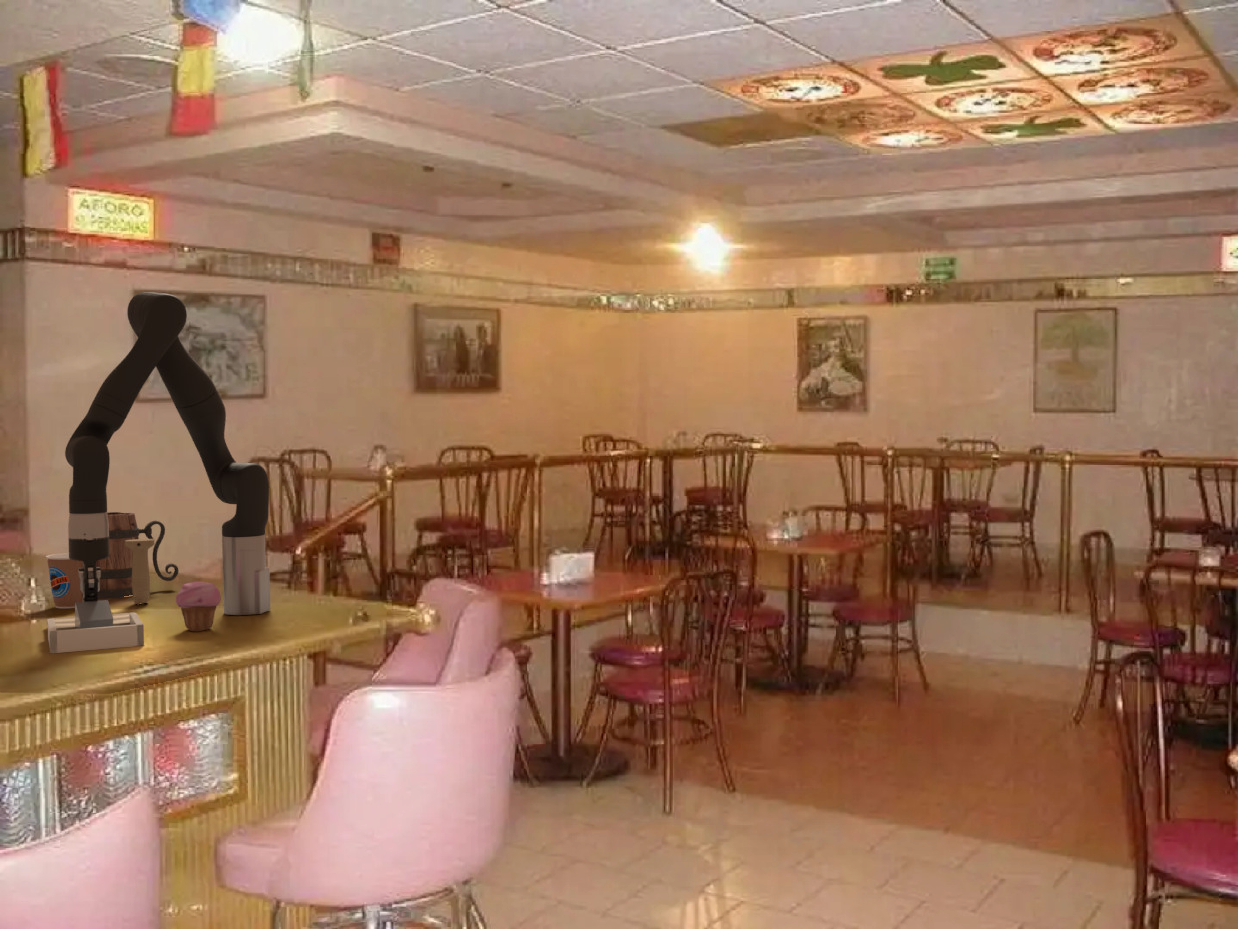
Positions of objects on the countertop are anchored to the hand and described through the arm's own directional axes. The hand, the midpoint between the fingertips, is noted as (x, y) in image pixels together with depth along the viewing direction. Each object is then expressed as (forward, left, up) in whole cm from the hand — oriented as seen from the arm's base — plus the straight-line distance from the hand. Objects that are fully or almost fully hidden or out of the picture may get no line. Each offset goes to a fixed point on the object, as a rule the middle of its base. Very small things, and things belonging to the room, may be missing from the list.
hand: (90, 621), depth 255 cm
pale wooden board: (+4, -7, -3) cm, 8 cm away
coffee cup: (+25, -38, -3) cm, 46 cm away
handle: (+10, -42, -3) cm, 43 cm away
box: (-4, +6, -3) cm, 8 cm away
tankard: (+22, -60, -3) cm, 64 cm away
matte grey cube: (-2, +3, -2) cm, 4 cm away
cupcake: (-19, -8, -3) cm, 21 cm away
